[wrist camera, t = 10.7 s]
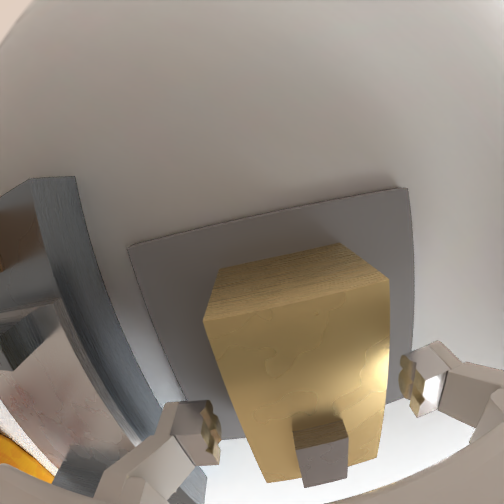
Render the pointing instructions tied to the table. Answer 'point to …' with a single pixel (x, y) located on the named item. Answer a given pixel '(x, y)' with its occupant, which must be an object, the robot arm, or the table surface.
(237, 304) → the tan rectangular block
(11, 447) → the fried chicken
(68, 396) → the hand plane
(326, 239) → the mat
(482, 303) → the table surface
